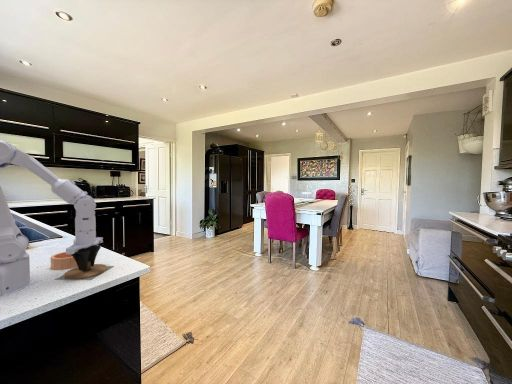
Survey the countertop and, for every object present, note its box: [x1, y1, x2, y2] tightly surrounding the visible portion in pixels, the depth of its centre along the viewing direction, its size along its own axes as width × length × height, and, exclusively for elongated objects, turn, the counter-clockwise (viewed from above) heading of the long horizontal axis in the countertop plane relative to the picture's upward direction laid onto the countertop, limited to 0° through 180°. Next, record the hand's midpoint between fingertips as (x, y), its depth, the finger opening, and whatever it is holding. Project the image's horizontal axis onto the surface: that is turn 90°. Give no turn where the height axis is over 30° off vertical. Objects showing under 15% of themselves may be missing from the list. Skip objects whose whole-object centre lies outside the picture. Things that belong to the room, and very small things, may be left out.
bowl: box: [50, 251, 78, 271], centre depth 86 cm, size 10×10×4 cm
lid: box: [63, 261, 108, 281], centre depth 79 cm, size 12×12×4 cm
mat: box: [54, 265, 115, 281], centre depth 79 cm, size 12×12×1 cm
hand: (86, 268), depth 79 cm, fingers open, 3 cm apart
